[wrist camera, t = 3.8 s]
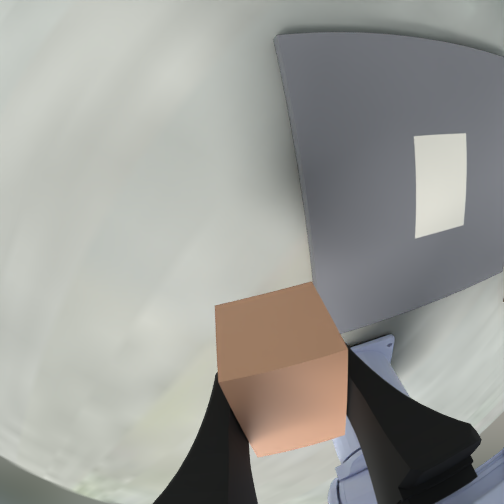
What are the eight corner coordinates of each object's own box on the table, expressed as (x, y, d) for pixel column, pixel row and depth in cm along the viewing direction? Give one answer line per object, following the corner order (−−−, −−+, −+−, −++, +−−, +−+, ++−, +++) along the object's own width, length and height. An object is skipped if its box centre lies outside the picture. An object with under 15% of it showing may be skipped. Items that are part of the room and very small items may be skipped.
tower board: (496, 266, 23) (502, 271, 22) (317, 330, 22) (321, 339, 21) (501, 58, 14) (510, 58, 13) (273, 39, 13) (277, 34, 12)
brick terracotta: (321, 373, 15) (345, 434, 11) (247, 392, 15) (257, 457, 11) (311, 281, 12) (347, 349, 8) (214, 305, 12) (218, 382, 8)
